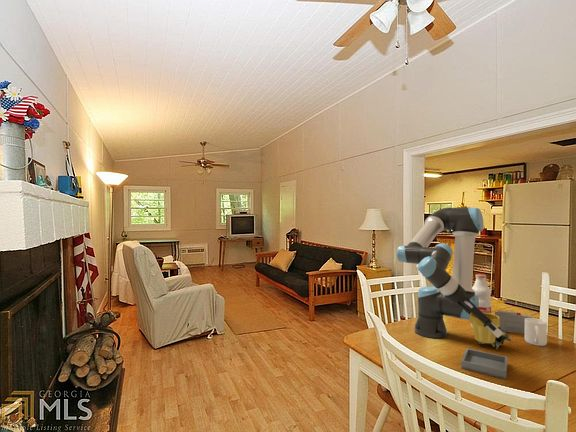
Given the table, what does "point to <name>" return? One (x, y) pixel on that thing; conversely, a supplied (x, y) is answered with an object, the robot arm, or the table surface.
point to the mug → (535, 331)
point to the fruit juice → (482, 293)
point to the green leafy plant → (499, 339)
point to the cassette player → (512, 321)
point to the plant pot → (484, 328)
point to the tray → (485, 363)
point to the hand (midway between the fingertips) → (492, 330)
